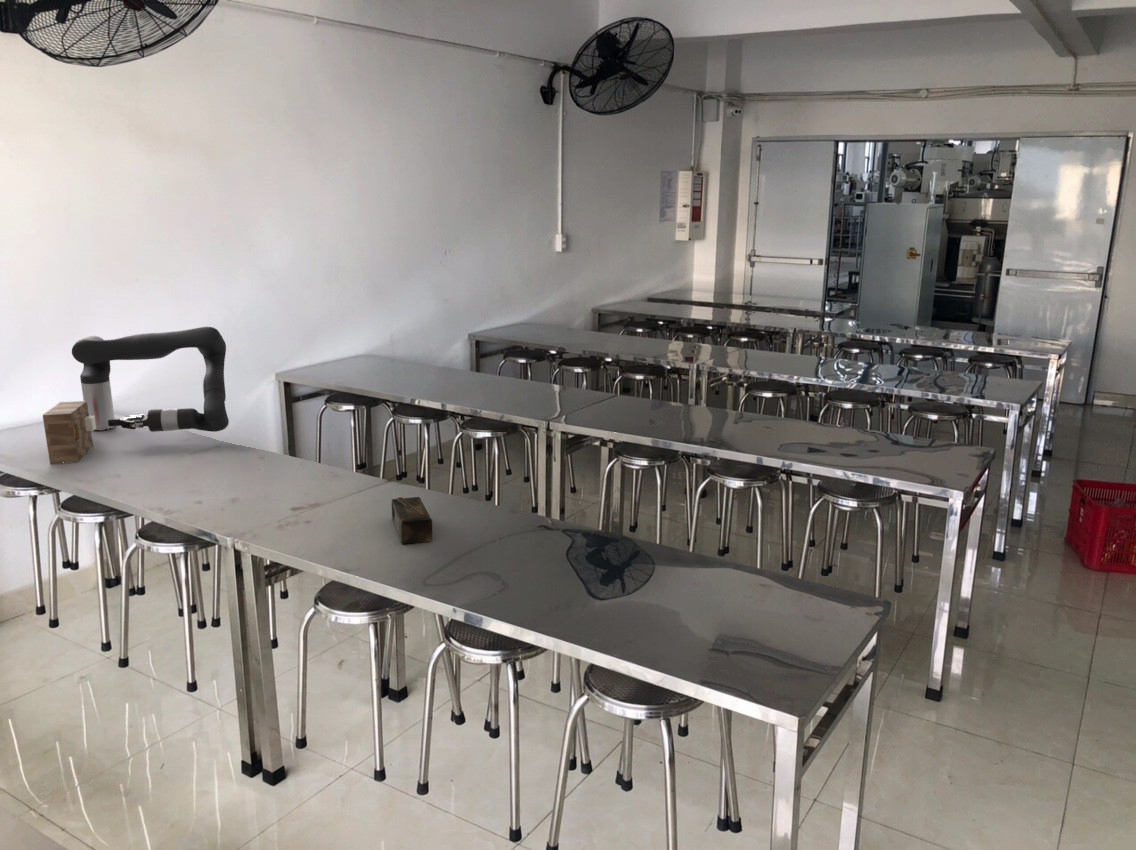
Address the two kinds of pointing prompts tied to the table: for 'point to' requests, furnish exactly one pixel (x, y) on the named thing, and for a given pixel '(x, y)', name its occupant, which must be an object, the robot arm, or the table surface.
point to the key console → (67, 432)
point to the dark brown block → (411, 520)
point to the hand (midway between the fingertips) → (108, 422)
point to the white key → (90, 423)
